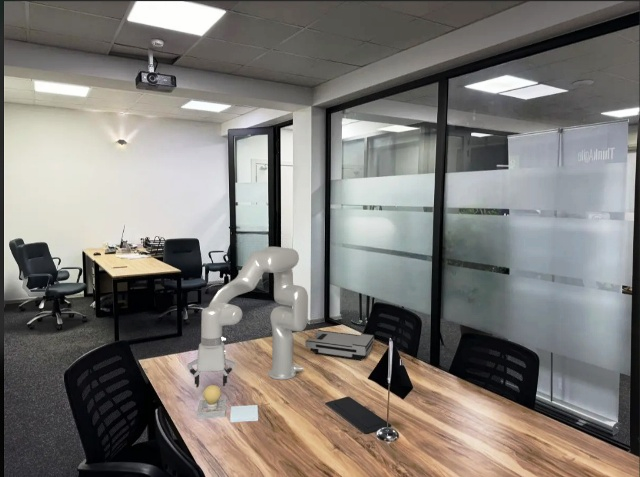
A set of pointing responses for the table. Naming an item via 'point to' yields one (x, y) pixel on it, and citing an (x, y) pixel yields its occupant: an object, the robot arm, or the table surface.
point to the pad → (244, 413)
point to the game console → (341, 345)
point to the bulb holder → (211, 413)
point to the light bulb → (212, 396)
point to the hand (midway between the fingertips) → (210, 385)
